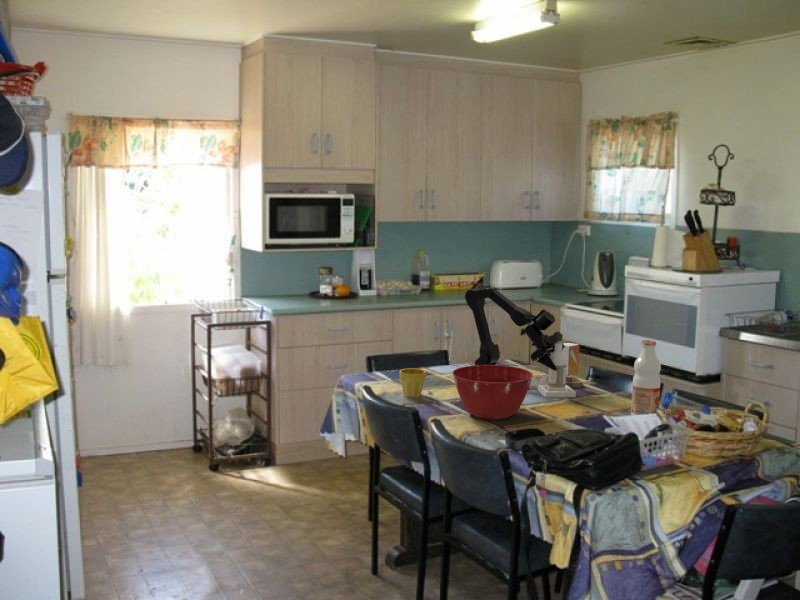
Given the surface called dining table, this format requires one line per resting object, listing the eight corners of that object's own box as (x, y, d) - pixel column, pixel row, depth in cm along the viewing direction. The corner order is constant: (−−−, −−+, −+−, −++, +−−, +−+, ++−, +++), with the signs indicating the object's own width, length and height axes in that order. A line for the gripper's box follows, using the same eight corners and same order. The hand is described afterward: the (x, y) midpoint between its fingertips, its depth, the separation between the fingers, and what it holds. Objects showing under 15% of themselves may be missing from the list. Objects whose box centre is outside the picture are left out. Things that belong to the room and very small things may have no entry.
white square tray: (545, 397, 324) (546, 392, 324) (537, 390, 336) (538, 385, 336) (575, 397, 326) (576, 392, 325) (566, 389, 337) (566, 385, 337)
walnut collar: (554, 387, 341) (554, 382, 341) (546, 381, 353) (546, 376, 353) (582, 387, 342) (583, 382, 342) (573, 381, 354) (574, 376, 354)
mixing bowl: (475, 429, 278) (476, 384, 277) (437, 408, 304) (438, 367, 302) (546, 421, 290) (548, 378, 288) (504, 402, 316) (506, 362, 314)
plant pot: (426, 398, 318) (427, 373, 317) (400, 398, 318) (400, 373, 316) (424, 392, 329) (424, 368, 327) (398, 392, 328) (398, 368, 327)
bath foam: (543, 391, 331) (546, 342, 329) (554, 388, 336) (556, 340, 333) (557, 395, 326) (560, 345, 323) (568, 392, 331) (571, 342, 328)
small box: (568, 375, 365) (569, 346, 363) (556, 373, 370) (557, 344, 368) (578, 373, 371) (579, 344, 369) (566, 370, 375) (567, 342, 373)
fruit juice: (627, 415, 300) (631, 338, 296) (652, 415, 300) (657, 339, 297) (635, 422, 291) (640, 343, 287) (662, 422, 291) (666, 343, 287)
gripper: (538, 328, 323) (562, 360, 317) (562, 322, 337) (585, 353, 332) (520, 345, 329) (543, 376, 323) (543, 339, 343) (566, 369, 338)
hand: (560, 368), depth 329 cm, fingers closed on bath foam, 7 cm apart
